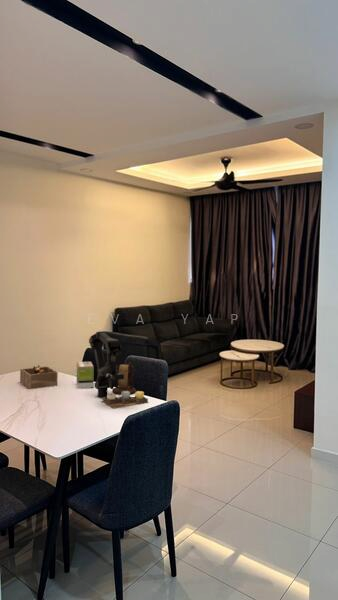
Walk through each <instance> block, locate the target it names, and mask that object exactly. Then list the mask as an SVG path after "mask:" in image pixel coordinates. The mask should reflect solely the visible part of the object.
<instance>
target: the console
mask: <svg viewBox="0 0 338 600" xmlns="http://www.w3.org/2000/svg"><path fill="white" fill-rule="evenodd" d="M100 402H101V403H102V404H104V405H105V406H107V407H110V408H111V409H113V410H115V409H122V408H126V407H132V406H133V407H134V406H138V405H142V404H143V405H144V404H149V399H148V398H147V397H145V396H144V399H141V400H137V399H135V397H131V396H130V399H127V400H123V399H121V396H116V399H112V400H108V399H107V397H103V398H102V400H100Z"/></svg>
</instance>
